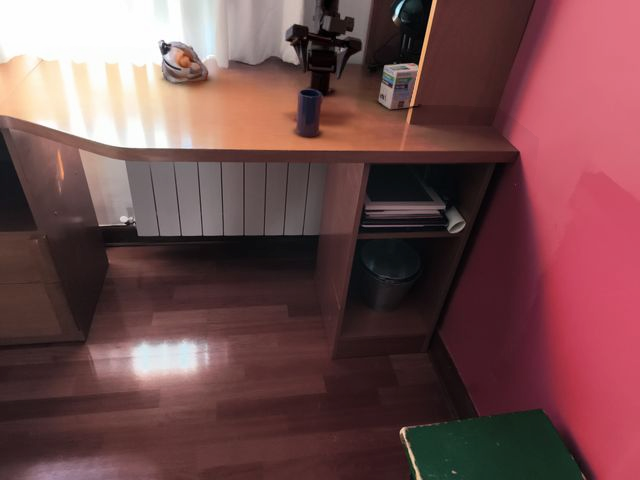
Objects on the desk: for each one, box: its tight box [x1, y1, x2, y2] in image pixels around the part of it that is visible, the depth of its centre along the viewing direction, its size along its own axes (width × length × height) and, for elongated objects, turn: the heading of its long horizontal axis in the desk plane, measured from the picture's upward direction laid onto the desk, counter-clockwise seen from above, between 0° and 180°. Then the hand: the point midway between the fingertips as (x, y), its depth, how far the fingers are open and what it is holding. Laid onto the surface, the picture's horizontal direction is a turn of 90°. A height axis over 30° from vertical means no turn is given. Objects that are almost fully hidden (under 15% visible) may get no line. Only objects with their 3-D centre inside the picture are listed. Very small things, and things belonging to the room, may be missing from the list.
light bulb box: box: [377, 62, 419, 110], centre depth 132 cm, size 11×7×11 cm, turn 117°
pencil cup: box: [295, 88, 323, 138], centre depth 111 cm, size 6×6×10 cm
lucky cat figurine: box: [157, 39, 209, 84], centre depth 133 cm, size 15×12×14 cm
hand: (321, 76), depth 114 cm, fingers open, 9 cm apart
